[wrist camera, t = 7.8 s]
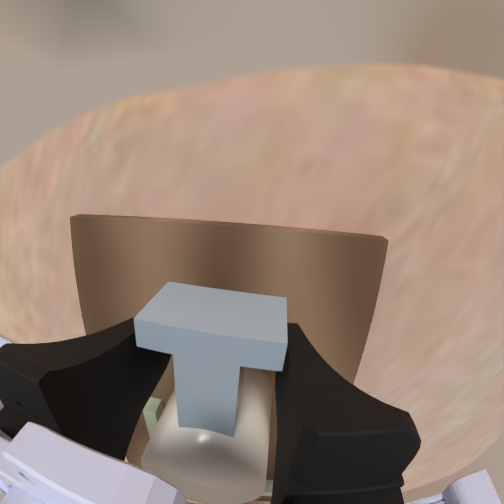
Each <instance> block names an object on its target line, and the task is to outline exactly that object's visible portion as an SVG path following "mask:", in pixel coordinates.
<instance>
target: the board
mask: <svg viewBox="0 0 504 504" xmlns="http://www.w3.org/2000/svg"><path fill="white" fill-rule="evenodd" d="M70 224H71V238H72V249H73V259H74V267H75V275H76V282H77V289H78V295H79V301H80V307H81V312H82V317H83V322H84V327H85V332H86V335H90V334H93V333H96V332H99V331H102V330H104V329H107V328H109V327H112V326H114V325H117V324H119V323H121V322H124V321H126V320H128V319H130V318H132V317H135V316H136V315H137V314H138V313H139V312H140V311H141V310H142V309H143V308H144V307H145V306H146V305H147V304H148V302H149V301H150V300H151V299H152V298H153V297H154V296H155V295H156V294H157V293H158V292H159V291H160V290H161V289H162V288H163V287H164V286H165V285H166V284H167V283H168V282H175V283H182V284H188V285H195V286H202V287H209V288H216V289H223V290H230V291H238V292H245V293H253V294H261V295H269V296H278V297H286V299H287V323H298V325H299V326H300V327H301V329H302V331H303V332H304V334H305V335H306V337H307V338H308V340H309V341H310V343H311V344H312V345H313V347H314V348H315V349H316V351H317V352H318V353H319V354H320V356H321V357H322V358H323V359H324V360H325V361H326V362H327V363H328V364H329V365H330V366H331V367H332V368H333V369H334V370H335V371H336V372H337V373H338V374H340V375H341V376H342V377H343V378H344V379H346V380H347V381H348V382H350V383H351V384H353V383H354V380H355V376H356V373H357V370H358V367H359V364H360V361H361V357H362V354H363V350H364V347H365V344H366V340H367V336H368V333H369V329H370V325H371V321H372V317H373V313H374V309H375V305H376V301H377V296H378V292H379V287H380V282H381V278H382V273H383V267H384V262H385V257H386V251H387V245H388V240H387V239H385V238H384V237H382V236H374V235H365V234H355V233H345V232H335V231H325V230H315V229H304V228H292V227H281V226H269V225H256V224H244V223H230V222H216V221H201V220H186V219H169V218H151V217H131V216H109V215H84V214H79V215H75V216H72V217H70ZM261 370H263V372H264V373H265V374H266V375H267V377H268V378H269V380H270V382H271V385H272V407H271V422H270V436H269V449H268V462H267V474H266V480H273V479H274V468H275V457H276V444H277V417H276V398H275V374H276V371H273V370H264V369H261ZM174 387H175V379H174V364H173V354H172V355H171V358H170V361H169V363H168V366H167V368H166V370H165V372H164V374H163V376H162V377H161V379H160V381H159V383H158V384H157V386H156V388H155V390H154V391H153V393H152V395H151V397H153V398H157V399H161V400H162V403H163V409H164V408H165V406H166V404H167V402H168V400H169V398H170V395H171V393H172V391H173V389H174ZM149 440H150V436H149V432H148V429H147V425H146V421H145V417H144V414H143V411H142V413H141V415H140V418H139V420H138V423H137V425H136V428H135V430H134V433H133V436H132V439H131V441H130V444H129V447H128V450H127V453H126V457H127V459H128V462H129V463H131V464H133V465H136V466H138V467H140V468H143V467H142V465H141V458H142V455H143V453H144V451H145V449H146V446H147V444H148V442H149ZM271 498H272V496H260V497H259V498H257V499H255V500H256V501H270V502H271Z"/></svg>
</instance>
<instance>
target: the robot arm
mask: <svg viewBox="0 0 504 504" xmlns="http://www.w3.org/2000/svg"><path fill="white" fill-rule="evenodd" d="M287 336H288V344H287V349H286V354H285V359H284V364H283V369H282V371H276V374H275V398H276V417H277V444H276V457H275V468H274V479H273V489H272V498H271V504H501V502H500V500H499V498H498V495H497V493H496V490H495V488H494V486H493V484H492V482H491V479H490V477H489V475H488V473H487V471H486V469H482V470H479V471H476V472H474V473H471V474H468V475H465V476H463V477H460V478H458V479H457V480H455V481H453V482H452V483H451V484H450V485H449V486H448V487H447V488H446V489H445V490H444V492H443V493H440V494H436V495H433V496H429V497H426V498H422V499H418V500H414V501H410V502H405V503H404V501H403V497H402V493H401V489H400V487H402V486H403V485H404V480H403V476H402V473H403V471H404V470H405V469H406V468H407V466H408V465H409V464H410V462H411V461H412V460H413V458H414V457H415V456H416V454H417V452H418V450H419V448H420V444H421V439H420V437H419V434H418V432H417V429H416V426H415V424H414V422H413V420H412V418H411V416H410V414H409V412H406V411H403V410H401V409H398V408H396V407H393V406H391V405H388V404H386V403H383V402H381V401H379V400H378V399H376V398H374V397H372V396H370V395H368V394H366V393H365V392H363V391H361V390H360V389H358V388H357V387H355V386H354V385H353V384H351V383H350V382H348V381H347V380H346V379H344V378H343V377H342V376H341V375H340V374H338V373H337V372H336V371H335V370H334V369H333V368H332V367H331V366H330V365H329V364H328V363H327V362H326V361H325V360H324V359H323V358H322V357H321V356H320V354H319V353H318V352H317V351H316V349H315V348H314V347H313V345H312V344H311V343H310V341H309V340H308V338H307V337H306V335H305V334H304V332H303V331H302V329H301V327H300V326H299V325H298V323H287ZM171 355H172V354H168V353H163V352H159V351H154V350H150V349H146V348H142V347H138V346H137V345H136V336H135V327H134V317H132V318H130V319H128V320H126V321H124V322H121V323H119V324H117V325H114V326H112V327H109V328H107V329H104V330H102V331H99V332H96V333H93V334H90V335H86V336H83V337H79V338H74V339H69V340H64V341H59V342H51V343H39V344H13V343H12V342H10V341H8V340H6V339H4V338H2V337H0V492H1V493H2V494H3V495H4V496H5V497H4V498H3V500H2V501H1V503H0V504H194V503H189V502H187V500H186V498H185V497H184V496H183V495H182V494H181V492H180V491H179V490H178V489H177V488H176V486H175V485H173V484H171V483H170V482H168V481H166V480H165V479H163V478H161V477H160V476H158V475H157V474H155V473H152V472H150V471H147V470H145V469H143V468H140V467H138V466H136V465H133V464H131V463H128V462H125V461H124V460H125V456H126V453H127V450H128V447H129V444H130V441H131V439H132V436H133V433H134V430H135V428H136V425H137V423H138V420H139V418H140V415H141V413H142V411H143V409H144V407H145V405H146V403H147V402H148V400H149V398H150V397H151V395H152V393H153V391H154V390H155V388H156V386H157V384H158V383H159V381H160V379H161V377H162V376H163V374H164V372H165V370H166V368H167V366H168V363H169V361H170V358H171Z"/></svg>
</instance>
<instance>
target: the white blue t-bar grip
mask: <svg viewBox="0 0 504 504" xmlns="http://www.w3.org/2000/svg"><path fill="white" fill-rule="evenodd" d="M134 327H135V336H136V345H137V346H138V347H142V348H146V349H150V350H154V351H159V352H163V353H168V354H173V364H174V379H175V387H174V389H173V391H172V393H171V395H170V398H169V400H168V402H167V404H166V406H165V408H164V410H163V412H162V414H161V417H160V419H159V421H158V423H157V425H156V427H155V429H154V431H153V434H152V436H151V438H150V440H149V442H148V444H147V446H146V449H145V451H144V453H143V455H142V458H141V465H142V467H143V469H145V470H147V471H150V472H152V473H155V474H157V475H158V476H160V477H161V478H163V479H165V480H166V481H168V482H170V483H171V484H173V485H175V486H176V488H177V489H178V490H179V491H180V492H181V494H182V495H183V496H184V497H185V498H187V499H190V500H193V501H197V502H202V503H207V504H244V503H248V502H251V501H253V500H255V499H257V498H259V497H260V496H261V495H262V494H263V493H264V491H265V485H266V474H267V462H268V449H269V436H270V422H271V407H272V385H271V382H270V380H269V378H268V377H267V375H266V374H265V373H264V372H263V370H261V369H264V370H273V371H282V369H283V364H284V359H285V354H286V349H287V344H288V336H287V299H286V297H278V296H269V295H261V294H253V293H245V292H238V291H230V290H223V289H216V288H209V287H202V286H195V285H188V284H182V283H175V282H168V283H167V284H166V285H165V286H164V287H163V288H162V289H161V290H160V291H159V292H158V293H157V294H156V295H155V296H154V297H153V298H152V299H151V300H150V301H149V302H148V304H147V305H146V306H145V307H144V308H143V309H142V310H141V311H140V312H139V313H138V314H137V315H136V316H135V317H134Z"/></svg>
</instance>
